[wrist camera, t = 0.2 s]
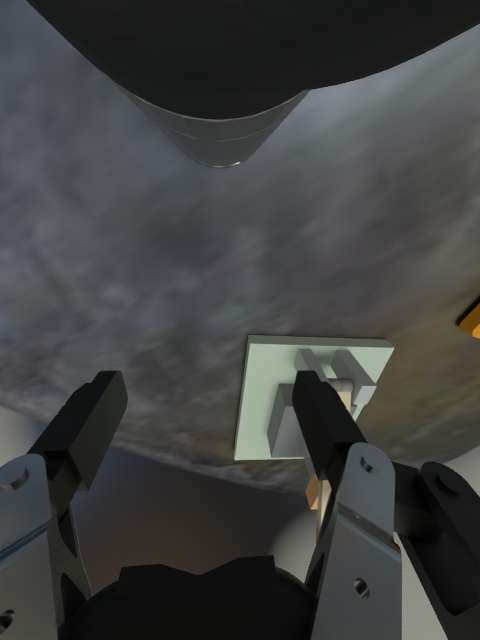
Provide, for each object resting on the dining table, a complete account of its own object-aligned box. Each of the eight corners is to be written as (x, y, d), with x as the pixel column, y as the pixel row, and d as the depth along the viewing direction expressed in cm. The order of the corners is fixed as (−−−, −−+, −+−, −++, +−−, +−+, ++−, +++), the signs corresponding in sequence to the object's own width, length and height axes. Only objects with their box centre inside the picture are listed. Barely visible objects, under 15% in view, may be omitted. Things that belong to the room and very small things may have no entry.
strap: (321, 376, 27) (328, 380, 26) (345, 376, 28) (353, 380, 26) (313, 564, 27) (319, 579, 26) (337, 563, 28) (344, 577, 26)
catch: (313, 473, 35) (323, 502, 32) (356, 472, 36) (369, 500, 32) (305, 490, 38) (313, 518, 34) (345, 489, 38) (356, 516, 35)
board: (248, 334, 31) (256, 381, 23) (385, 339, 33) (432, 383, 25) (234, 449, 44) (236, 501, 37) (331, 447, 46) (352, 496, 39)
